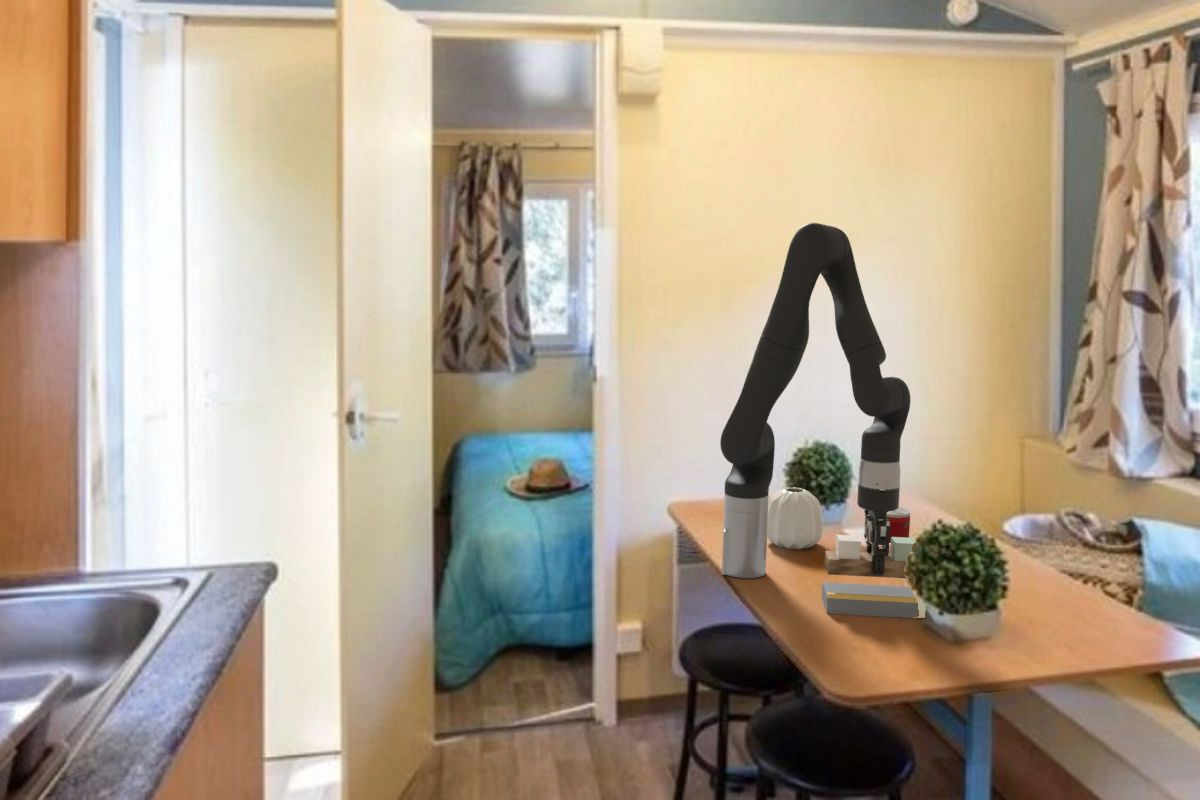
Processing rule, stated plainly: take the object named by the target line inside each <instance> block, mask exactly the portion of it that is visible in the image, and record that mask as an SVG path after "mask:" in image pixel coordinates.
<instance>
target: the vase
mask: <svg viewBox="0 0 1200 800" xmlns="http://www.w3.org/2000/svg"><path fill="white" fill-rule="evenodd" d="M823 530H824V517H823V511H822V506H821V502H820V501H819V499H818V498H817V497H816V496H814V495H813V494H812V493H811V492H810V491H808V490H806V489H805V488H801V487H793V486H792V487H786V488H782V489H780V490H778V491H777V492H775V493H774V494H773V495H772V496H771V497H769V498H768V521H767V539H768V540H769V542H770V543H771V544H774V546H777V547H779V548H785V549H789V550H791V549H795V550H801V549H811V548H812V547H813V546H815V545H817V543H819V542H820V540H821V539H822V535H823Z"/></svg>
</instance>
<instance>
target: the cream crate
mask: <svg viewBox="0 0 1200 800" xmlns="http://www.w3.org/2000/svg"><path fill="white" fill-rule="evenodd" d="M861 545H862V541H861V539H860V537H859V535H853V534H852V535H851V534H846V535H845V534H836V538H835V551H836V554H837V557H838V558H839V559H860V552H861V547H862V546H861Z"/></svg>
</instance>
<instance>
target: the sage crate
mask: <svg viewBox="0 0 1200 800" xmlns="http://www.w3.org/2000/svg"><path fill="white" fill-rule="evenodd" d="M915 542H916V540H915V539H914V538H913V537H909V538H905V537H891V550H890V555H891V557H892V558H893V560H894V561H905V562H906V560H907V558H908V556H909V554H910V552H911V549H912V546H913V544H914V543H915Z"/></svg>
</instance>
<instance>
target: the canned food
mask: <svg viewBox="0 0 1200 800" xmlns="http://www.w3.org/2000/svg"><path fill="white" fill-rule="evenodd" d="M886 515H887V519H889V521H890V528H891V531H890V540H889V543H891V537H905V538H910V529H911V528H910V525H911V511H910V510H908V509H906V508H903V507H898V509H897V510H894V511H889V512H887V514H886Z"/></svg>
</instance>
